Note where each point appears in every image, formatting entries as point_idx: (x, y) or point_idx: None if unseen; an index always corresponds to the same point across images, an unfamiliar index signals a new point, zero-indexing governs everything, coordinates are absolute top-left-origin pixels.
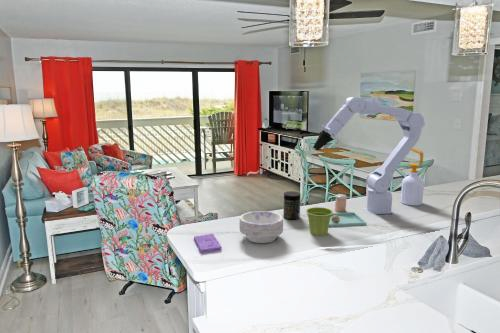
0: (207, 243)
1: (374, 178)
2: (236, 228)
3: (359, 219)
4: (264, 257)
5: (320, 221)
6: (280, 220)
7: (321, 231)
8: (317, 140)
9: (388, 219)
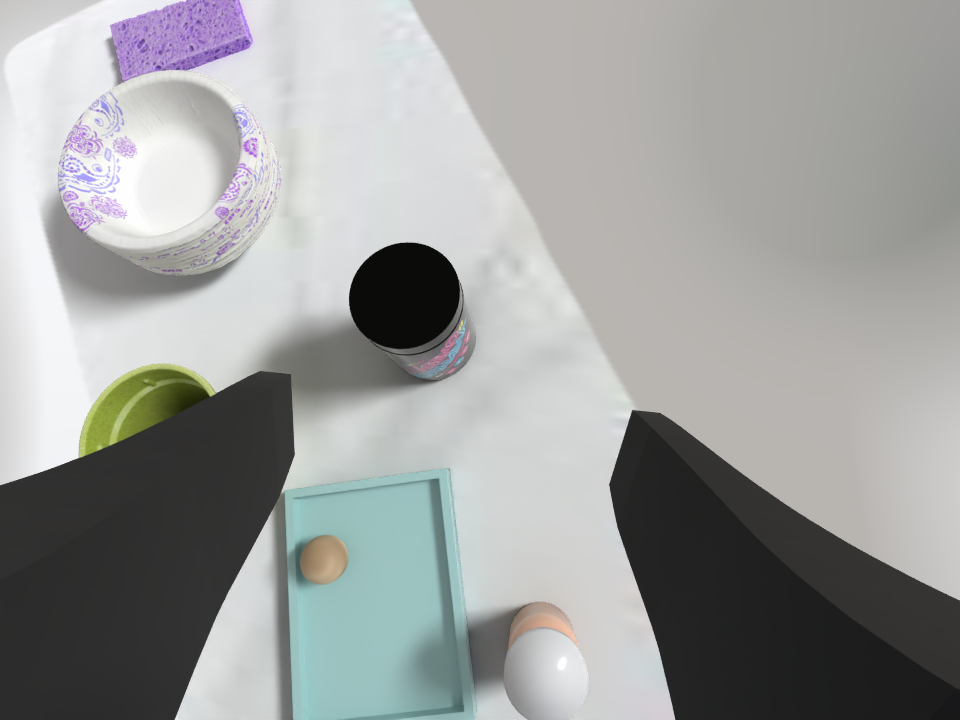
0: (158, 34)
1: None
2: (325, 113)
3: (370, 717)
4: (54, 223)
5: (123, 438)
6: (97, 236)
7: None
8: (713, 506)
9: None
